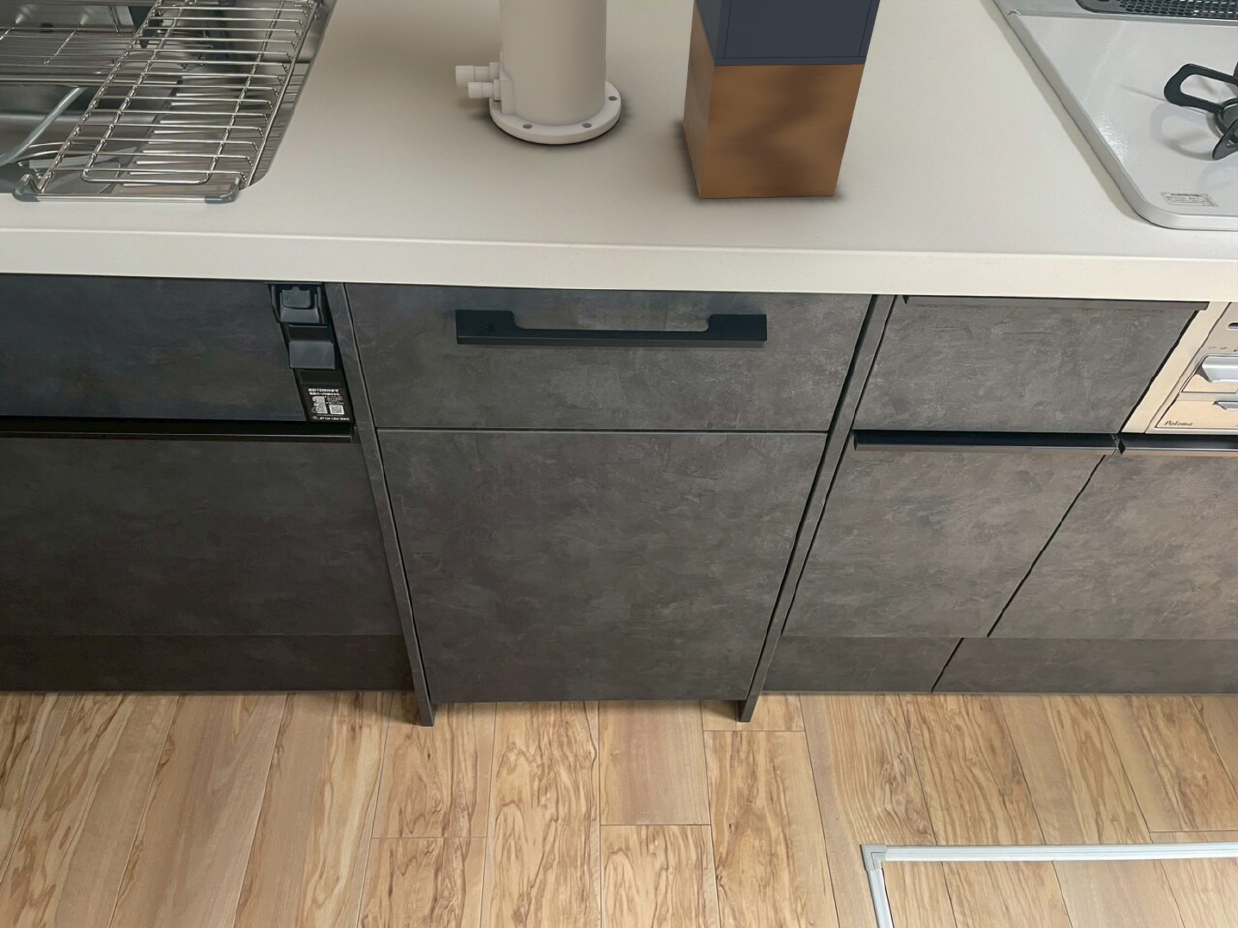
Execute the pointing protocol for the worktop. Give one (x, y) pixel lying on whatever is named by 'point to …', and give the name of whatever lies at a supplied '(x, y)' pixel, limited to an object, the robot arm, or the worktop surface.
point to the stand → (766, 124)
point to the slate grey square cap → (788, 31)
